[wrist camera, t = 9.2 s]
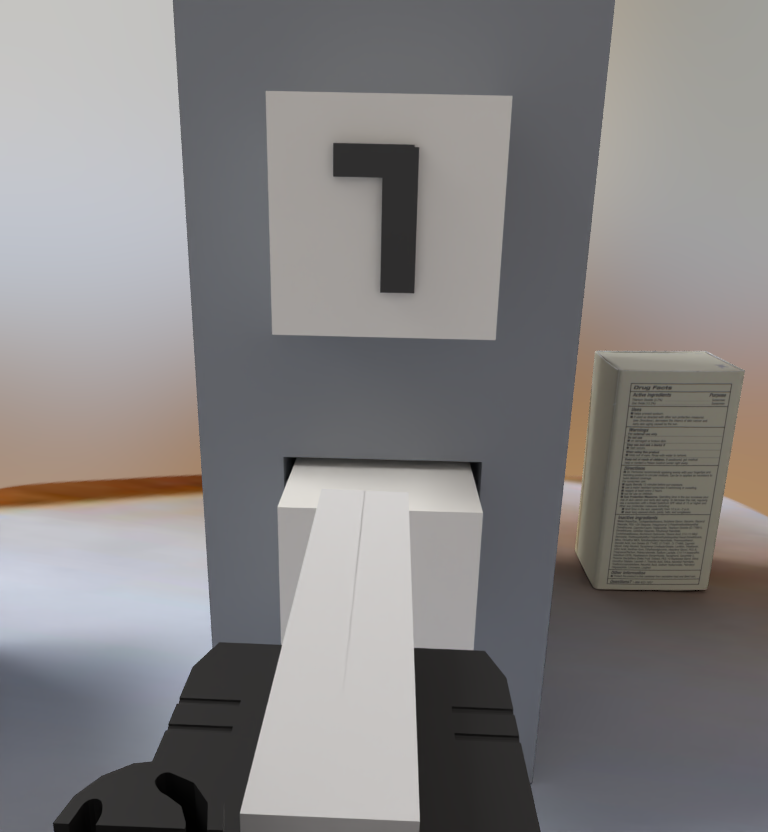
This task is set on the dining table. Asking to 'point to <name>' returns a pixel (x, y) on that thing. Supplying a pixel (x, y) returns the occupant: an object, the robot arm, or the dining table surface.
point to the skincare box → (655, 467)
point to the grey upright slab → (380, 356)
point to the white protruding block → (386, 213)
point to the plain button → (429, 536)
